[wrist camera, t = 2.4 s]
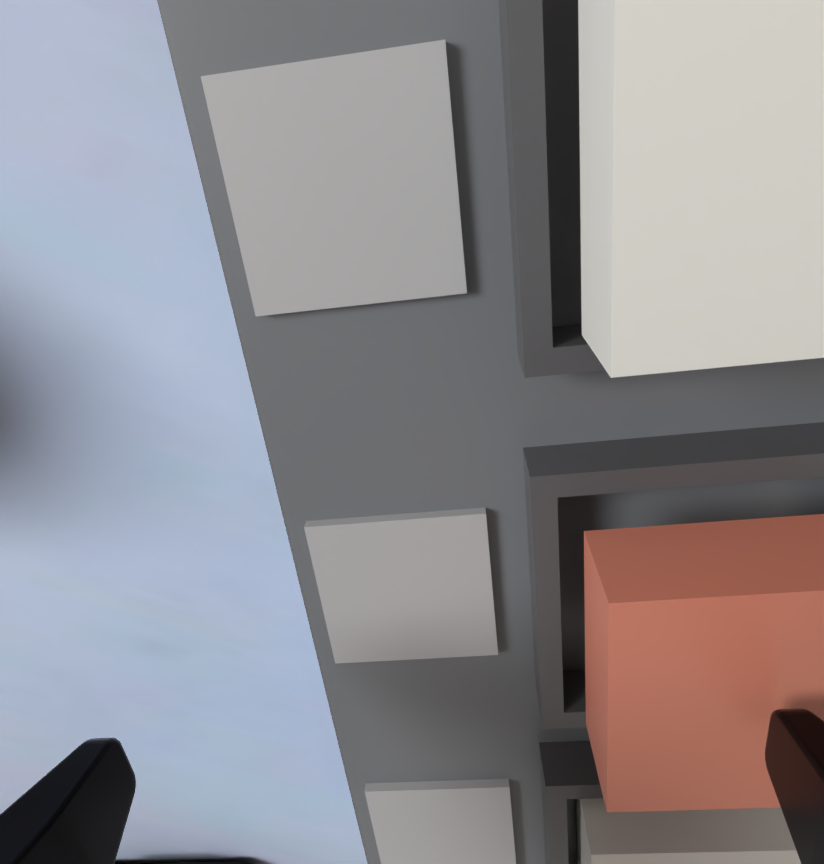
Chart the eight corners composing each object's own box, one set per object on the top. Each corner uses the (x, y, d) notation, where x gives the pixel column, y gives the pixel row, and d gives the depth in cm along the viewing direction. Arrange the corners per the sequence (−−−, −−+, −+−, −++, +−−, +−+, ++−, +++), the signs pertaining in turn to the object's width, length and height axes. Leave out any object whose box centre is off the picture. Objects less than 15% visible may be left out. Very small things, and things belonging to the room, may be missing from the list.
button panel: (805, 803, 18) (895, 971, 14) (392, 815, 19) (379, 972, 16) (1017, -213, 9) (1403, -452, 5) (208, -72, 10) (76, -187, 7)
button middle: (828, 713, 11) (888, 804, 9) (585, 723, 11) (606, 813, 10) (871, 510, 9) (953, 583, 7) (583, 531, 9) (608, 603, 8)
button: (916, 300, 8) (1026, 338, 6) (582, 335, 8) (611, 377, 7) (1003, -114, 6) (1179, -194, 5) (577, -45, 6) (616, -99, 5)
